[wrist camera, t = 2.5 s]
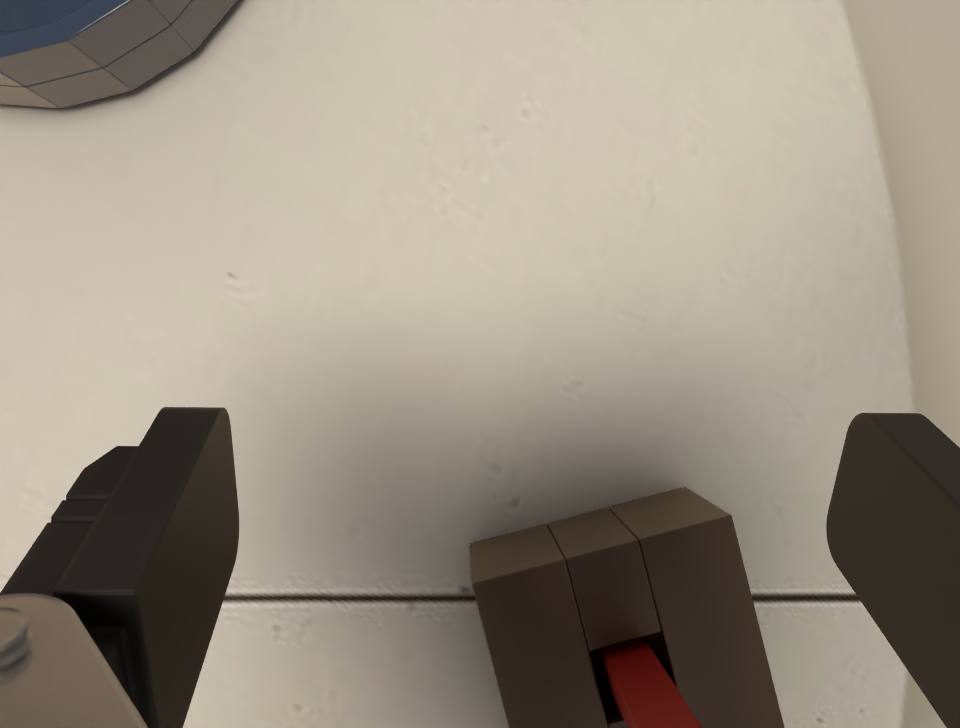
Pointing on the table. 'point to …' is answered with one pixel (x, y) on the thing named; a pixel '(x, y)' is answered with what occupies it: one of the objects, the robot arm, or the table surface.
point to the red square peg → (643, 687)
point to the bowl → (95, 45)
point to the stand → (623, 613)
